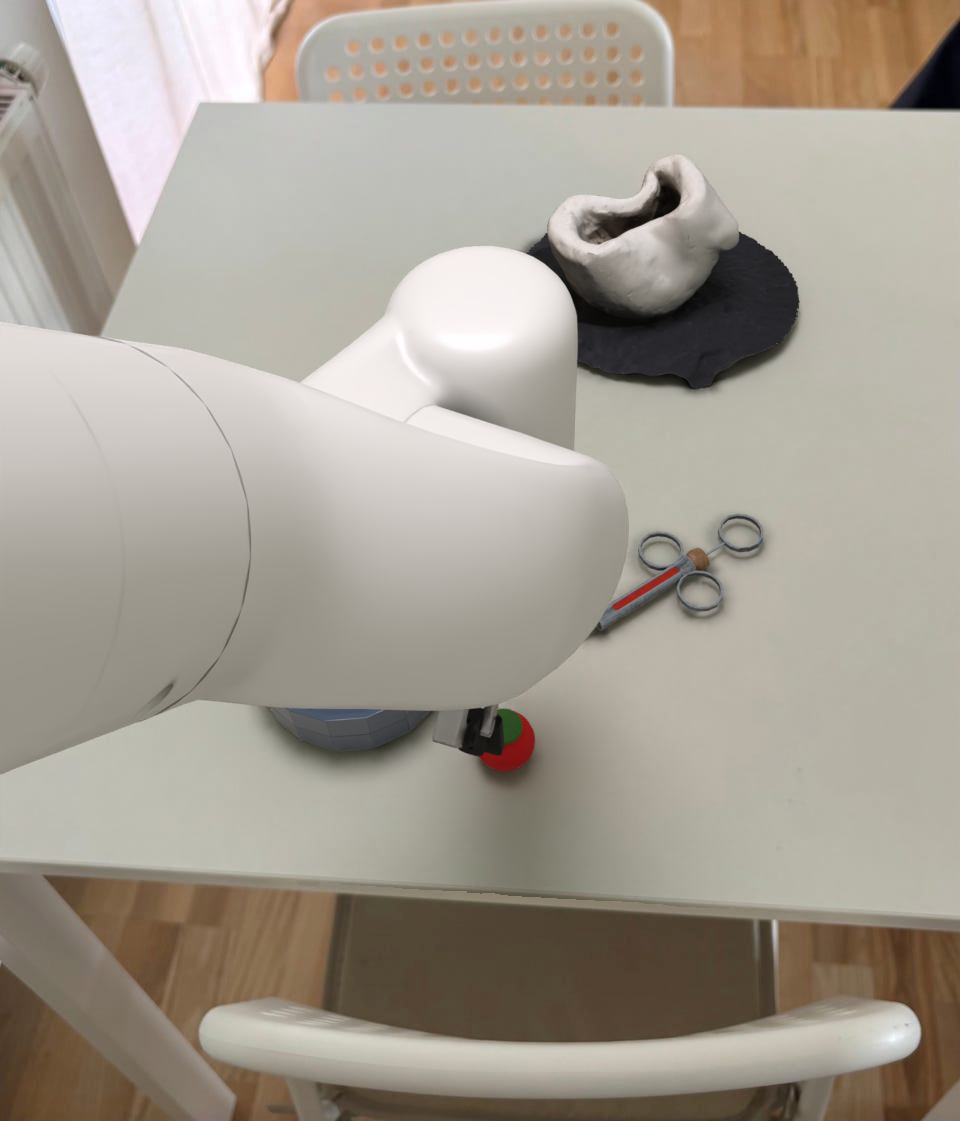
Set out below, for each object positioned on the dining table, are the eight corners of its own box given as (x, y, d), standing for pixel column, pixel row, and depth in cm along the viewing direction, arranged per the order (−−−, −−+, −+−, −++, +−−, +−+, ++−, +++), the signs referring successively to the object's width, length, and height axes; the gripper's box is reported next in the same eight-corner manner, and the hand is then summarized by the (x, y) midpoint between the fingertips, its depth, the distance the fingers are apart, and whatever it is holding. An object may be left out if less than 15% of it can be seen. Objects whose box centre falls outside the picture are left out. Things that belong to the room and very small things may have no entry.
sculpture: (805, 401, 92) (850, 283, 82) (507, 388, 92) (514, 268, 82) (775, 227, 105) (811, 105, 95) (514, 216, 105) (520, 93, 95)
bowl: (409, 776, 73) (402, 744, 69) (233, 724, 76) (216, 689, 72) (472, 617, 80) (469, 578, 76) (309, 574, 83) (297, 534, 78)
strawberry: (524, 788, 72) (524, 761, 69) (467, 771, 73) (463, 744, 70) (542, 735, 74) (542, 706, 71) (486, 719, 75) (483, 690, 72)
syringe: (532, 611, 80) (532, 599, 78) (721, 496, 85) (724, 482, 84) (597, 688, 76) (598, 676, 75) (791, 563, 81) (795, 549, 80)
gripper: (474, 350, 56) (488, 542, 70) (345, 630, 47) (391, 786, 61) (617, 380, 55) (602, 570, 69) (512, 675, 46) (519, 825, 60)
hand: (502, 672), depth 65 cm, fingers open, 9 cm apart
